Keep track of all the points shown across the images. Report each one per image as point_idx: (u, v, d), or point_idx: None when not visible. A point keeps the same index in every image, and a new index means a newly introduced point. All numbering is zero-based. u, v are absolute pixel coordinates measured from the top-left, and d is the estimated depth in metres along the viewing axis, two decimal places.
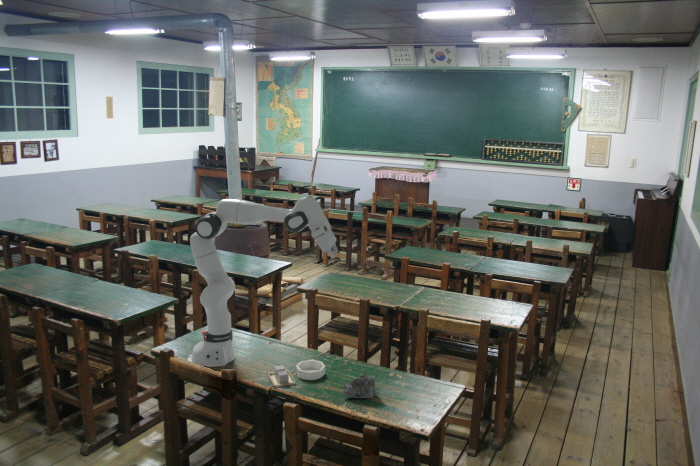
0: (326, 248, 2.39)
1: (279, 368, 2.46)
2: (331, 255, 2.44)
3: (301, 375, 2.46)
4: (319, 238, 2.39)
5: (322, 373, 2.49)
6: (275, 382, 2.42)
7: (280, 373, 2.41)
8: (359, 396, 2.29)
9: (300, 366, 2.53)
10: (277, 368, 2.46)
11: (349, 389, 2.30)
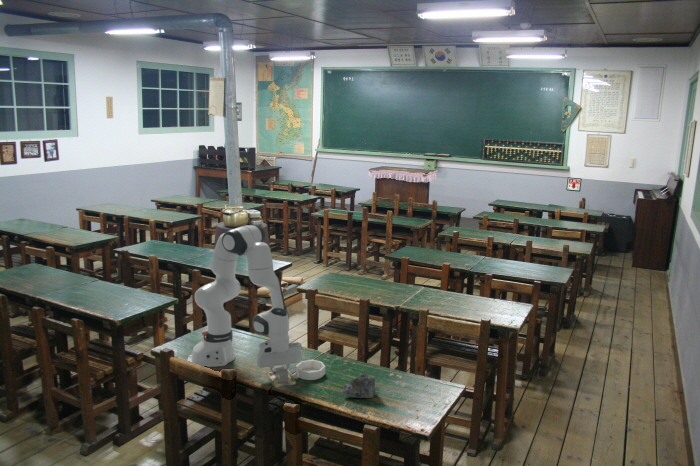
0: (257, 364, 2.42)
1: (279, 368, 2.46)
2: None
3: (301, 375, 2.46)
4: (258, 352, 2.42)
5: (322, 373, 2.49)
6: (275, 382, 2.42)
7: (280, 373, 2.41)
8: (359, 395, 2.29)
9: (300, 366, 2.53)
10: (277, 368, 2.46)
11: (348, 388, 2.30)
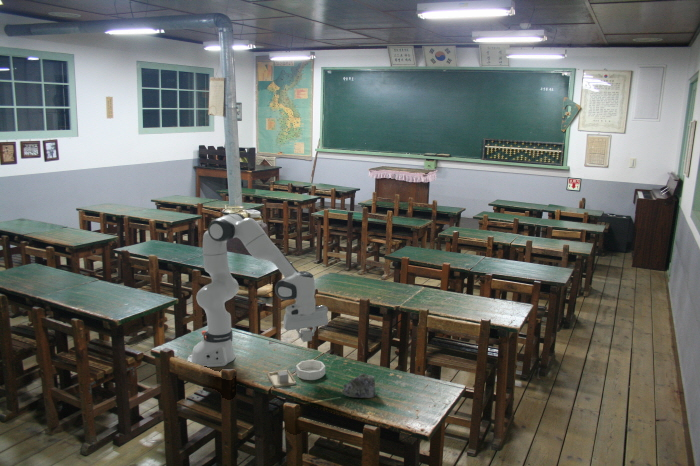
0: (284, 327, 2.44)
1: (306, 331, 2.47)
2: (298, 334, 2.47)
3: (301, 375, 2.46)
4: (285, 315, 2.44)
5: (322, 373, 2.49)
6: (275, 382, 2.42)
7: (280, 373, 2.41)
8: (359, 395, 2.30)
9: (300, 366, 2.53)
10: (304, 331, 2.47)
11: (348, 388, 2.30)
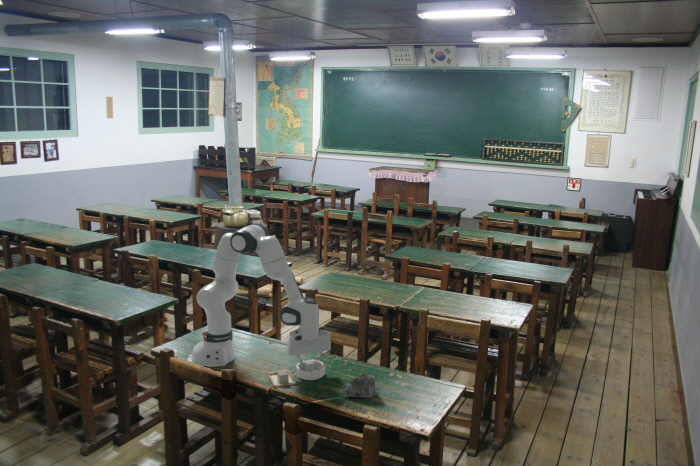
0: (287, 352, 2.47)
1: (309, 363, 2.51)
2: (298, 359, 2.51)
3: (301, 375, 2.46)
4: (289, 341, 2.47)
5: (322, 373, 2.49)
6: (275, 382, 2.42)
7: (280, 373, 2.41)
8: (359, 395, 2.30)
9: (300, 366, 2.53)
10: (307, 363, 2.51)
11: (348, 387, 2.31)
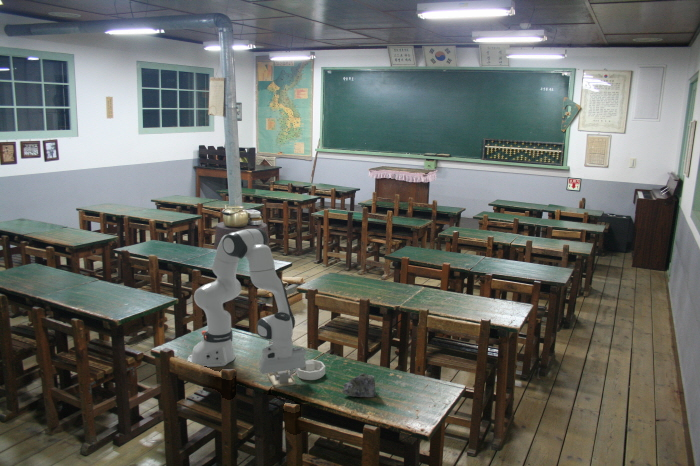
0: (260, 370, 2.37)
1: (309, 363, 2.51)
2: (275, 377, 2.41)
3: (301, 375, 2.46)
4: (261, 358, 2.37)
5: (322, 373, 2.49)
6: (275, 382, 2.42)
7: (280, 373, 2.41)
8: (358, 395, 2.30)
9: None
10: (307, 363, 2.51)
11: (348, 387, 2.31)
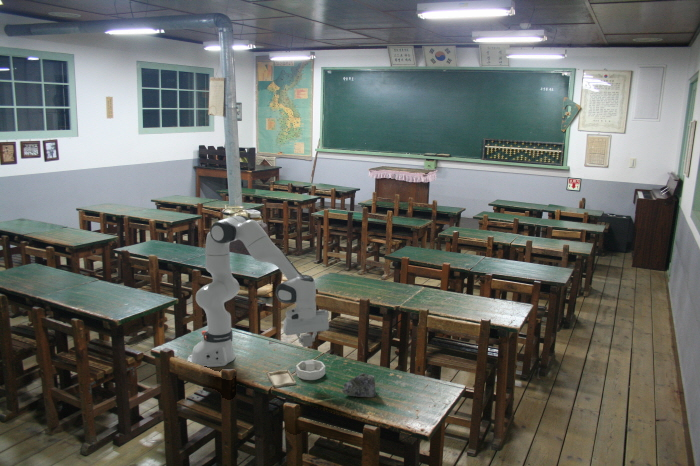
0: (284, 332, 2.38)
1: (309, 363, 2.51)
2: None
3: (301, 375, 2.46)
4: (285, 320, 2.39)
5: (322, 373, 2.49)
6: (275, 382, 2.42)
7: (304, 335, 2.42)
8: (358, 394, 2.30)
9: (300, 366, 2.53)
10: (307, 363, 2.51)
11: (348, 387, 2.32)
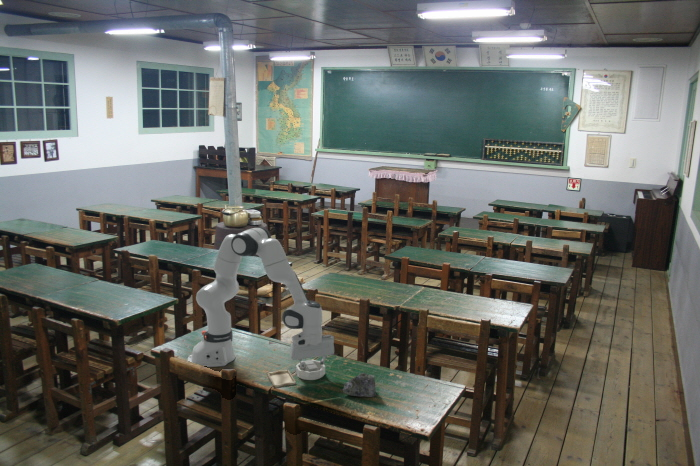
0: (290, 357, 2.43)
1: (309, 363, 2.51)
2: (300, 364, 2.46)
3: (301, 375, 2.46)
4: (292, 345, 2.43)
5: (322, 373, 2.49)
6: (275, 382, 2.42)
7: (310, 367, 2.48)
8: (358, 394, 2.31)
9: None
10: (307, 363, 2.51)
11: (348, 386, 2.32)
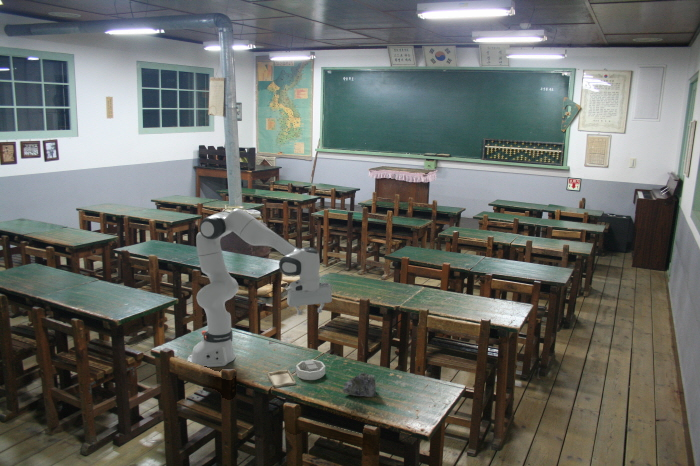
0: (288, 303, 2.42)
1: (309, 363, 2.51)
2: None
3: (301, 375, 2.46)
4: (289, 291, 2.42)
5: (322, 373, 2.49)
6: (275, 382, 2.42)
7: (310, 367, 2.48)
8: (358, 394, 2.31)
9: (300, 366, 2.53)
10: (307, 363, 2.51)
11: (348, 386, 2.32)
